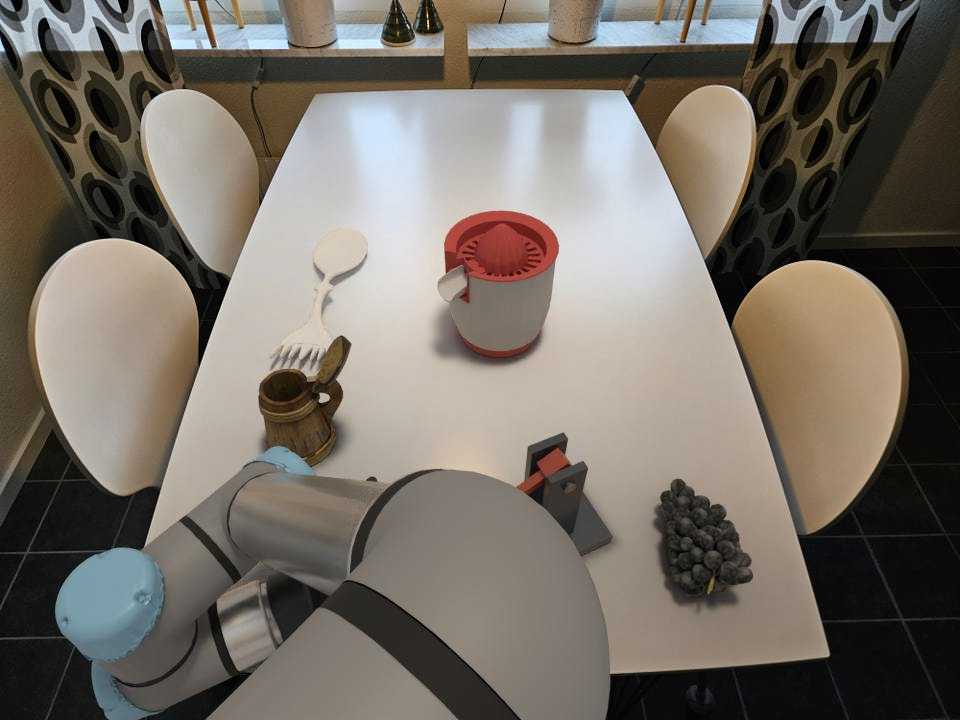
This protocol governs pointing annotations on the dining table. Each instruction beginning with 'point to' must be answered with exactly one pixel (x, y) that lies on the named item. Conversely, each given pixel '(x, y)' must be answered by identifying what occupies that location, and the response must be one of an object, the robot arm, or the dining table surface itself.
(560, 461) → the lever
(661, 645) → the dining table surface
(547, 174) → the dining table surface
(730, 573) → the fruit
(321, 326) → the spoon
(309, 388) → the wooden mug
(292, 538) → the robot arm
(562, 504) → the bracket
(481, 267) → the citrus juicer
